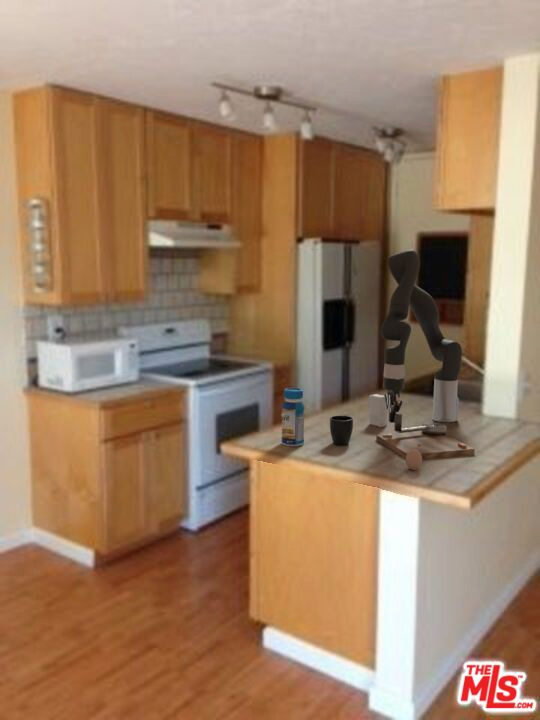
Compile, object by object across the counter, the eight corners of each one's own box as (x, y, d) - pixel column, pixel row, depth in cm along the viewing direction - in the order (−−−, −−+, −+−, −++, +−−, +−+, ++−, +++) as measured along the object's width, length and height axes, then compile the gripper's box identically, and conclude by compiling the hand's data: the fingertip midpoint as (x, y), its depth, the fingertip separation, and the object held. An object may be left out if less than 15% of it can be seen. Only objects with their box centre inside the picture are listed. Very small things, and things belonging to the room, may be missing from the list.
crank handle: (436, 427, 256) (437, 406, 255) (451, 433, 248) (452, 411, 247) (387, 433, 248) (388, 411, 247) (401, 440, 240) (402, 417, 238)
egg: (406, 466, 218) (406, 446, 217) (422, 468, 216) (423, 447, 215) (404, 471, 213) (405, 450, 212) (421, 473, 211) (421, 452, 210)
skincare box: (387, 425, 268) (388, 396, 266) (379, 427, 266) (380, 397, 264) (375, 422, 273) (376, 393, 271) (368, 424, 270) (369, 394, 268)
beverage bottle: (306, 446, 239) (307, 391, 236) (283, 447, 238) (283, 392, 235) (301, 439, 248) (302, 386, 244) (279, 440, 246) (279, 387, 243)
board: (436, 435, 255) (437, 427, 254) (474, 454, 231) (474, 446, 230) (376, 440, 248) (376, 432, 247) (408, 460, 224) (408, 451, 223)
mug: (357, 439, 249) (358, 414, 247) (348, 447, 238) (349, 421, 236) (336, 436, 252) (336, 412, 250) (326, 445, 241) (327, 419, 239)
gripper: (378, 372, 250) (376, 418, 253) (390, 379, 237) (388, 427, 240) (397, 372, 252) (395, 417, 254) (410, 379, 239) (408, 426, 242)
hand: (392, 422), depth 247 cm, fingers closed
